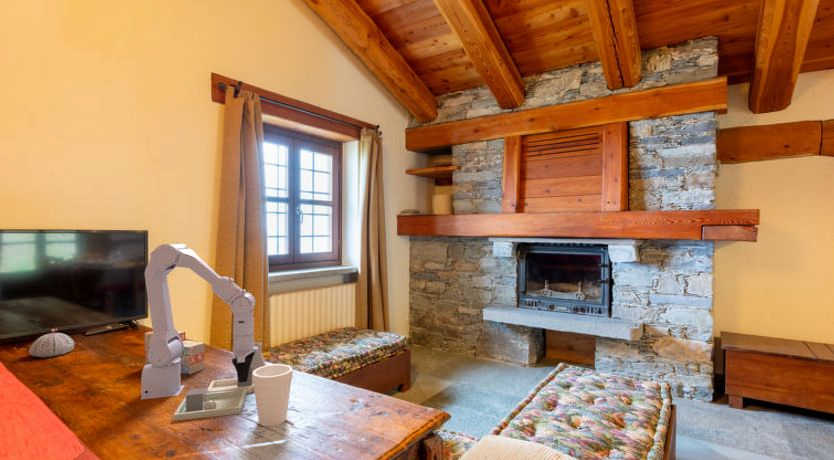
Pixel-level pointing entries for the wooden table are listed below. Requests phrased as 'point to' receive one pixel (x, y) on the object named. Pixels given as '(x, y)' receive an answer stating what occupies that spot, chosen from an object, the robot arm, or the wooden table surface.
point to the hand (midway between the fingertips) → (243, 379)
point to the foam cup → (272, 393)
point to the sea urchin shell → (51, 345)
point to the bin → (224, 405)
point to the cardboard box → (184, 354)
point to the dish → (227, 386)
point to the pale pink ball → (210, 405)
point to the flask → (258, 358)
